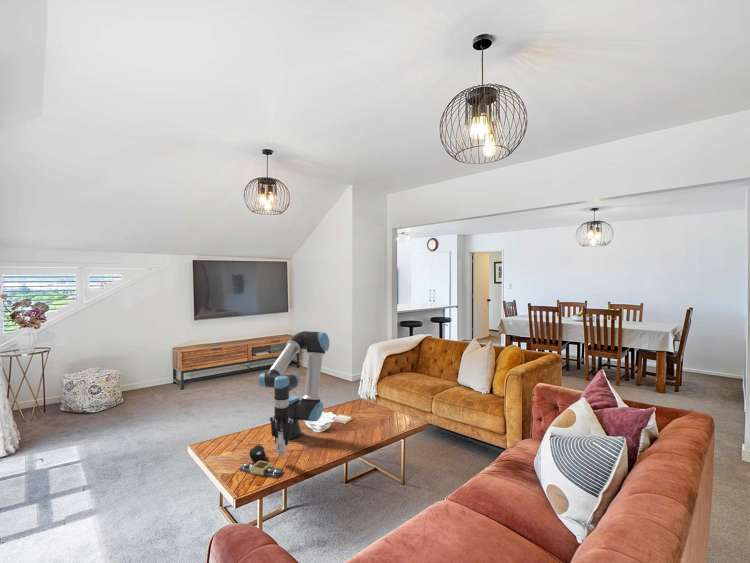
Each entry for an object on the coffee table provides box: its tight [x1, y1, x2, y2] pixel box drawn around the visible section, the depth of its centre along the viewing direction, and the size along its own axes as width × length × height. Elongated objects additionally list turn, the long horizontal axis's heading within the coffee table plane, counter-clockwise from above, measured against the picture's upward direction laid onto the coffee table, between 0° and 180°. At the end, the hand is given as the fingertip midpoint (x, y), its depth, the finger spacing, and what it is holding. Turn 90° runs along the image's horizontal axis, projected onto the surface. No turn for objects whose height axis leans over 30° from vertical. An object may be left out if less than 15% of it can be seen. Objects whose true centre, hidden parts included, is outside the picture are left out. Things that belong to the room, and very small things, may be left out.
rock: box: [249, 444, 267, 463], centre depth 210 cm, size 10×9×6 cm
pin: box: [277, 429, 286, 456], centre depth 204 cm, size 4×4×12 cm
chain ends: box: [239, 460, 284, 479], centre depth 196 cm, size 8×22×3 cm, turn 71°
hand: (281, 449), depth 205 cm, fingers closed on pin, 3 cm apart
